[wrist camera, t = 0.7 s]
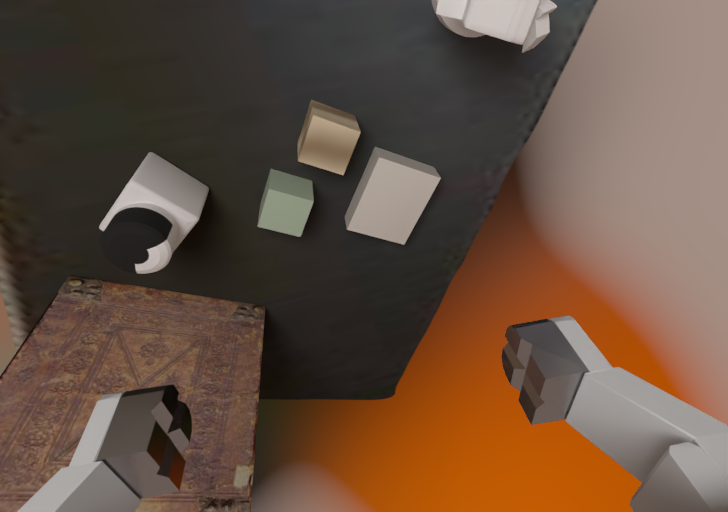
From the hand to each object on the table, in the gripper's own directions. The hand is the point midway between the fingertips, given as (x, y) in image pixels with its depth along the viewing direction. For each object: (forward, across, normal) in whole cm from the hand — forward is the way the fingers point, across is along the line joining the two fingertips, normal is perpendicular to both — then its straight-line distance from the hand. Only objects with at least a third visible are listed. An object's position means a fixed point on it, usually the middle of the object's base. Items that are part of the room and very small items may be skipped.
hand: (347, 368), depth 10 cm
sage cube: (+38, +5, +15) cm, 41 cm away
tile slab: (+38, -8, +16) cm, 42 cm away
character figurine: (+38, -16, -5) cm, 42 cm away
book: (+39, +25, +31) cm, 56 cm away
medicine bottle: (+39, +18, +12) cm, 44 cm away
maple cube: (+38, -1, +8) cm, 39 cm away
